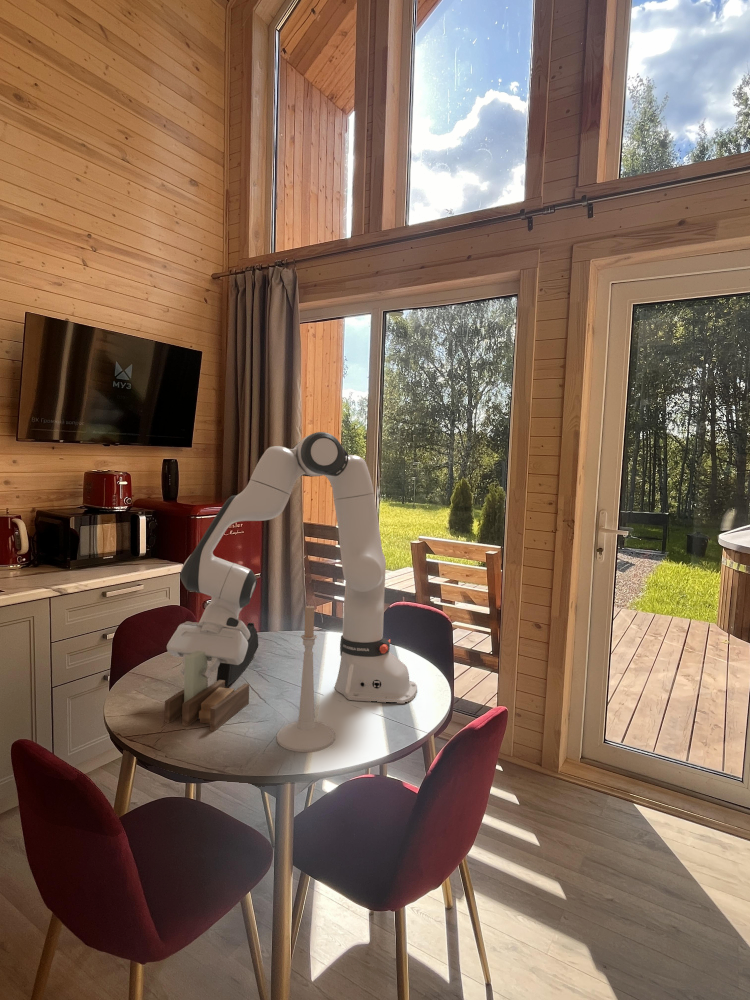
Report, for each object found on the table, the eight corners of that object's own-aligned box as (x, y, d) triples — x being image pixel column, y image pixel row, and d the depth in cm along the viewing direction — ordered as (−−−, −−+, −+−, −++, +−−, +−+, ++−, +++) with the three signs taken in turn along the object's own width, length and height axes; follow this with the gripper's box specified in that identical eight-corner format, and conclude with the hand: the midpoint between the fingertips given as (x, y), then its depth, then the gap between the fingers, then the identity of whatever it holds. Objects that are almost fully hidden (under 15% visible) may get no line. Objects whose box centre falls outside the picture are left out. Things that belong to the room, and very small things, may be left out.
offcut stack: (234, 706, 143) (234, 688, 143) (215, 725, 132) (215, 706, 132) (218, 704, 143) (219, 687, 143) (198, 724, 133) (199, 705, 132)
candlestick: (273, 727, 132) (277, 598, 130) (328, 722, 135) (332, 596, 134) (280, 754, 120) (284, 612, 118) (340, 748, 123) (344, 610, 121)
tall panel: (206, 706, 142) (207, 650, 141) (192, 716, 136) (193, 658, 135) (198, 704, 143) (199, 649, 142) (183, 714, 137) (184, 656, 136)
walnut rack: (248, 703, 144) (249, 684, 144) (214, 730, 129) (215, 709, 129) (203, 696, 148) (203, 677, 148) (164, 722, 132) (165, 701, 132)
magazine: (225, 661, 149) (256, 602, 177) (213, 660, 149) (245, 601, 177) (230, 714, 155) (259, 649, 183) (218, 714, 155) (249, 649, 183)
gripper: (176, 614, 148) (151, 663, 139) (248, 622, 142) (227, 674, 133) (186, 626, 152) (162, 675, 143) (256, 635, 147) (236, 686, 138)
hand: (194, 675), depth 138 cm, fingers open, 4 cm apart
